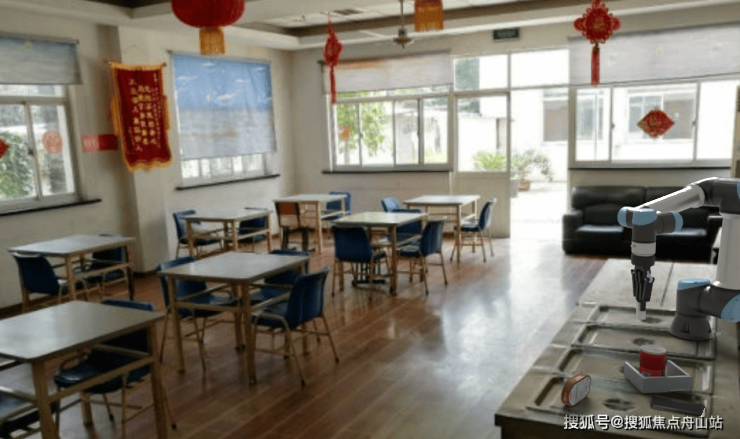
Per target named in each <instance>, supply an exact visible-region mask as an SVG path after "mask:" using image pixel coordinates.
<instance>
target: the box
mask: <svg viewBox="0 0 740 439" xmlns="http://www.w3.org/2000/svg"><path fill="white" fill-rule="evenodd" d="M623 364H624V365H623V377H624V378H626V379H627V380H628V379H629V380H630V381H632V382H633V383H634V384H635V386H636V387H635V386H634V387H635V388H636V389H637V390H639V391H640V392H641V394H653V393H657V394H658V393H669V392H668V391H670V390H674V389H677V390H678V389H685V390H686V389H687V390H688V389H689V390H691V391H692V386H693V384H692V383H693V376H692V375H690V374H689V373H688V372H686V371H685V370H684V369H683V368H681V367H680V366H678V365H677V364H676V363H675V362H673V361H672V360H671V359H670V360H669V359H668V360H667V359H666V375H667V376H666V375H665V376H660V377H644V376H643V375H642V374H641V373H639V370H637V369H636V368H635V367H634V366H633V365H631V363H629V361H624V362H623ZM629 380H628V381H629ZM630 381H629V382H630Z"/></svg>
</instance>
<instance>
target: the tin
mask: <svg viewBox="0 0 740 439" xmlns="http://www.w3.org/2000/svg"><path fill="white" fill-rule="evenodd" d="M591 384H592V377H591V375H590V374H588V373H584V372H583V371H581V372H578V373H576V374H575V375H573V376H571V377H570V378H568V379H566V381H565V383H564V385H563V387H562V389H561V393H560V402H561V403H562V404H563V405H566V406H568V407H574V406H575V405H577V404H578V403H579V404H580V402H581V401H584V400H585V399H586V398H587V396H588V395H589V392H591Z"/></svg>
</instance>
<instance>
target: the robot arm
mask: <svg viewBox="0 0 740 439" xmlns="http://www.w3.org/2000/svg"><path fill="white" fill-rule="evenodd" d="M700 207H716V208H719V209H718V210H719V211H718V214H720V216H721V217H722V223H721V224H722V225H721V233H720V240H719V249H718V257H717V263H716V264H717V265H716V273H715V274H716V275H715V278H714V280H712V281H711V280H710V279H708V278H701V277H700V278H699V277H693V278H692V277H689V278H682V279H680V280H678V282H677V286H676V299H675V300H676V302H675V313H674V314H675V315H674V317H673V319H672V321H671V324H670V326H669V333H670V335H672V336H674V337H676V338H679V339H684V340H689V341H700V342H701V341H709V340H710V339H709V338H710V337H711V336H712V337H713V330H712V327H711V323H710V321H709V316H710V317H713V318H717V319H719V320H722V321H725V322H726V321H727V322H731V323H738V322H740V177H727V176H725V177H724V176H712V177H707V178H704V179H703V178H702V179H700V180H697V181H694V182H691V183H688V184H686V185H685V186H684V187H683V188H682V189H680V190H677V191H675V192H672V193H670V194H667V195H665V196H662V197H659V198H656V199H654V200H650V201H649V202H648V201H647V202H646V203H643V204H640V205H638V206H635V207H634V206H633V207H632V206H623V207H622V208H620V209H619V211H618V213H617V222H618V224H619V225H620V226H622V227H624V228H625V227H626V228H629V229H631V230H632V231H631V232H632V233H631V245H630V247H631V254H630V263H631V265H632V266H634V268H630V273H631V274H630V275H631V284H632V296H633V298H635V300H636V306H635V307H636V308H635V310H636V311H635V319H636V320H638V321H643V320H646V316H647V314H646V313H647V303H649V302H650V303H651V297H652V292H653V287H654V283H655V281H656V278H655V276H652V270H651V268H652V267H654V266H655V265H656V255H655V254H656V247H657V246H656V245H657V244H656V241H657V236H661V235H666V234H672V233H676V232H679V231H680V230H682V227H683V224H684V220H683V216H682V214H680V213H681V212H683V211H685V210H688V209H690V208H692V209H697V208H700Z"/></svg>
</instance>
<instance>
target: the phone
mask: <svg viewBox="0 0 740 439" xmlns="http://www.w3.org/2000/svg"><path fill="white" fill-rule="evenodd" d="M649 401H650V402H649V407H650V408H653V409H655V410H656V409H657V410H661V411H667V412H671V413H672V412H673V413H677V414H682V415H688V416H692V417H698V418H700V417H699V416H701V415H702V413H703V410H704V408H705V409H706V407H705V406H706V404H703V403H700V402H699V403H698V402H693V401H689V400H688V401H687V400H682V399H677V398H672V397H667V396H660V395H654V394H653V395H651V396H650V400H649Z"/></svg>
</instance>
